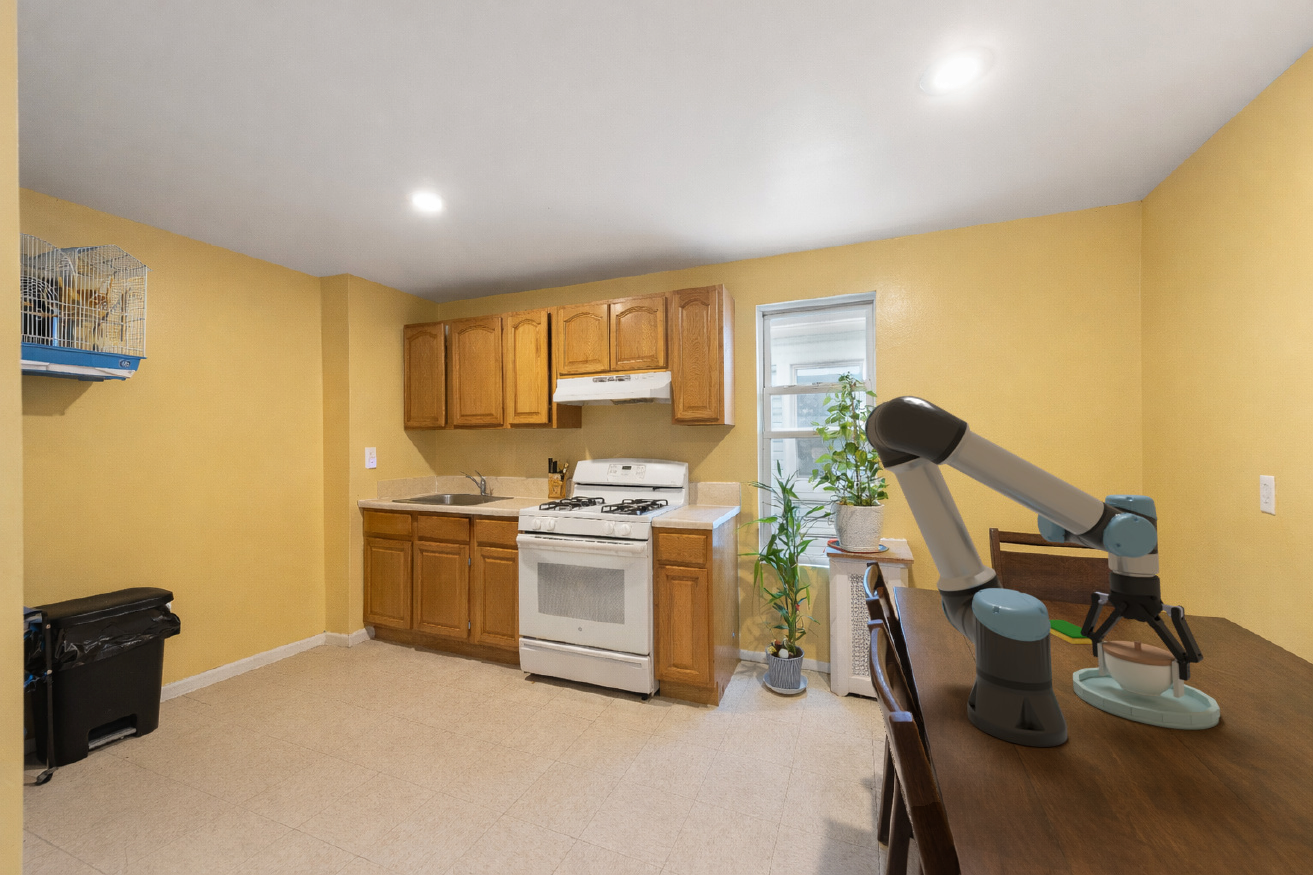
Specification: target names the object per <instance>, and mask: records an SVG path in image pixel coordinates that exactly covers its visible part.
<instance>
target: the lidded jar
mask: <svg viewBox="0 0 1313 875" xmlns="http://www.w3.org/2000/svg"><path fill="white" fill-rule="evenodd" d="M1103 650H1104V659H1105V664H1106V667H1107V670H1108V672H1109V674H1110V675H1111V676H1112V678H1113V679H1114V680H1115V681H1116V682H1117V683H1118V684H1120V687H1121V688H1123V689H1124V690H1127V691H1129V692H1132V693H1135V694H1139V695H1144V696H1160V695H1161V693H1163V692H1165V691H1167V690H1168V689H1169V688H1170V687H1171V686H1172V684H1173V677H1172V661H1174V660H1176V658H1175V657H1174V656H1173V654H1172V653H1171V652H1170V650H1169V651H1168V650H1166V649H1164V648H1161V647H1158V646H1154V645H1150V644H1147V643H1142V642H1141V641H1139V640H1134V641H1128V640H1110V641H1109V640H1108V641H1106V642H1105V643H1104V644H1103Z"/></svg>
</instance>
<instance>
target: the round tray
mask: <svg viewBox="0 0 1313 875" xmlns="http://www.w3.org/2000/svg"><path fill="white" fill-rule="evenodd" d="M1072 687H1073V692H1074V693H1075V694H1076V695H1077V697H1078V698H1080V699H1081V700H1083V701H1084V702H1085V703H1087V704H1089V705H1091V706H1093V707H1094V708H1097V709H1099V710H1101V711H1104V712H1106V713H1109V714H1110V715H1114V716H1117V717H1119V718H1123V719H1127V720H1130V721H1134V722H1138V723H1142V724H1146V725H1150V726H1151V725H1152V726H1155V727H1162V728H1167V729H1177V730H1190V731H1191V730H1205V729H1210V728H1214V727H1216V726H1217V725H1218V724H1219V723H1220V717H1221V709H1220V706H1219V704H1218V703H1217V701H1216V699H1215V698H1213V697H1211V696H1210V695H1208V694H1206V693H1205V692H1203V691H1202V690H1200V689H1197V688H1195V687H1193V686H1190V685H1187V684H1185V683H1184V693H1185V695H1183V696H1182V697H1180V698H1177V697H1174V694H1173V684H1172V686H1171V687H1170V688H1169V689H1168V690H1167V691H1165V692H1163V693H1161V695H1160V696H1144V695H1139V694H1135V693H1132V692H1129V691H1127V690H1124V689H1123V688H1121V687H1120V684H1118V683H1117V682H1116V681H1115V680H1114V679H1113V678H1112V676H1111V675H1110V674H1107V675H1105V676H1101V675H1099V667H1089V668H1081V669H1079V670H1076V671H1074V672H1073V673H1072Z"/></svg>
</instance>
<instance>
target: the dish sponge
mask: <svg viewBox="0 0 1313 875" xmlns="http://www.w3.org/2000/svg"><path fill="white" fill-rule="evenodd" d="M1049 621H1050V624H1051V629H1050V635H1054V636H1056V637H1057V638H1060V639H1061V640H1064V641H1066V642H1068V643H1070V644H1072V645H1092V641H1091V639H1089V638H1088V637H1086V636H1082V635H1081V633H1080V632H1081V629H1082V627H1080V626H1077V625H1076V624H1073V623H1072V622H1068V621H1066V620H1064V619H1049Z"/></svg>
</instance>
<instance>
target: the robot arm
mask: <svg viewBox="0 0 1313 875" xmlns="http://www.w3.org/2000/svg"><path fill="white" fill-rule="evenodd" d="M864 424H865V425H864V435H865V438H866V440H867V442H868V444H869V446H871V448H872V449H874V450H875V451H876V453H877V456H878V458H879V460H880V462H881V465H882V466H883V469H884V470H886V471H889V472H891V473H893V474H894V476H895V478H896V480H897V482H898V484H899V486H900V489H901V491H902V493H903V496H904V498H905V500H906V502H907V504H908V507H909V509H910V512H911V514H912V516H913V518H914V520H915V523H916V524H917V526H918V529H919V532H920V534H921V536H922V538H923V540H924V543H925V545H926V547H927V550H928V552H929V553H930V556H931V558H932V561H933V562H934V565H935V566H936V570H937V571H938V573H939V578H938V580H937V582H936V587H937V589H938V590H937V591H938V592H939V595H940V597H941V609H942V612H943V613H944V615H945V617H946V619H947V620H948V622H949V624H951V626H952V627H953V628H955V629H956V630H957V631H958V632H959V633H960V634H962V635H963V636H964V637H965V638H967V639H968V640H969V642H971V643H972V644H973V645H974V652H975V654H974V655H975V670H976V671H975V672H976V673H975V675H976V676H975V679H974V682H973V685H972V688H971V691H970V693H969V696H968V700H967V703H966V704H967V705H966V707H967V708H966V709H967V710H966V711H967V718H968V720H969V721H970V723H971V724H972V725H974V726H975V727H976V728H977V729H979V730H980V731H981V732H984V733H986V734H988V735H990V736H993V737H994V738H998V739H999V740H1003V741H1006V742H1009V743H1014V744H1016V745H1023V746H1030V747H1038V748H1039V747H1040V748H1046V747H1047V748H1049V747H1050V748H1051V747H1057V746H1060V745H1062V744H1064V743H1066V741H1067V740H1068V725H1067V721H1066V718H1065V717H1064V714H1063V712H1062V710H1061V706H1060V704H1059V701H1058V699H1057V697H1056V694H1055V691H1054V689H1053V672H1052V669H1053V668H1052V649H1051V648H1052V647H1051V644H1052V643H1051V633H1050V629H1051V624H1050V621H1049V620H1050V617H1049V612H1048V608H1047V606H1046V605H1045V604H1044V603H1043V601H1042V600H1039V599H1038V598H1037V597H1035V596H1033V595H1031V594H1028V593H1024V592H1020V591H1018V590H1015V589H1008V588H1004V587H1003V585H1002V583H1001V581H1000V579H999V576H998V574H997V573H996V570H995V569H994V568H992V567H989V566H987V565H985V564H983V561H982V559H981V557H980V555H979V552H978V550H977V548H976V546H975V544H974V541H973V539H972V537H971V534H970V532H969V530H968V528H967V526H966V523H965V521H964V520H963V516H962V515H961V513H960V511H959V509H958V506H957V504H956V502H955V500H954V498H953V496H952V494H951V491H950V489H949V487H948V485H947V482H946V480H945V478H944V476H943V474H942V471H941V469H940V467H939V466H942V465H948V466H949V467H951V468H953V469H955V470H956V471H958V472H959V473H962V474H963V475H966V476H968V477H969V478H971V479H973V480H975V481H977V482H978V483H980V484H982V485H983V486H986V487H988V488H989V489H991V490H993V491H995V492H997V493H999V494H1000V495H1002V496H1004V497H1007V498H1008V499H1010V500H1012V501H1013V502H1015V503H1017V504H1019V505H1021V506H1022V507H1025V508H1026V509H1027V510H1030V511H1032V512H1034V513H1035V514H1037V518H1036V519H1037V528H1038V531H1039V534H1040V536H1041V537H1042V538H1043V539H1044V540H1046V542H1049V543H1051V542H1052V543H1061V544H1064V543H1072V544H1077V545H1080V546H1084V547H1087V548H1093V549H1096V550H1098V551H1102V552H1106V553H1108V554H1107V557H1108V569H1110V570H1111V571H1109V572H1108V574H1109V575H1108V577H1109V578H1108V579H1109V580H1108V581H1109V589H1110V591H1109V593H1103V592H1102V591H1100V590H1099V591H1095V592H1092V593H1091V595H1090V600H1091V604H1090V607H1089V609H1088V612H1087V614H1086V617H1085V620H1084V622H1083V625H1082V627H1081V628H1082V629H1081V632H1080V633H1081V635H1082V636H1086V637H1088V638H1089V639H1091V641H1092V644H1091V646H1092V649H1091V650H1092V655H1093V657H1094V658H1097V659H1098V660H1097V662H1098V664H1097V666H1098V668H1099V675H1101V676H1105V675H1107V674H1109V672H1108V670H1107V667H1106V664H1105V659H1104V650H1103V644H1104V643H1105V642H1107V641H1105V640H1104V639H1105V637H1106V636H1107V635H1108V634H1109V633H1110V632H1111V631H1112V629H1113V628H1114V627H1115V626H1116V625H1117V624H1118V622H1119V621H1120V620H1121V619H1123V618H1124V619H1125V620H1133V621H1134V620H1135V621H1138V622H1140V623H1147V624H1148V626H1149V627H1150V628H1151V629H1153V630H1154V632H1155V633H1156V635H1158V637H1159V639H1160V640H1161V641H1162V643H1163V644H1164V645H1165V646H1166V648H1167V649H1168V650H1169V652H1171V653H1172V654H1173V656H1174V657H1175V658H1176V660H1174V661H1172V677H1173V694H1174V697H1177V698H1180V697H1182V696H1183V695H1185V693H1184V684H1185V681H1186V682H1187V681H1189V680H1190V679H1191V665H1190V664H1191V663H1192V664H1198V663H1200V662H1201V661H1204V655H1203V654H1202V650H1201V649H1200V647H1199V646H1198V643H1197V641H1196V639H1195V637H1194V635H1193V632H1192V631H1191V628H1190V626H1189V624H1188V623H1187V620H1186V616H1185V612H1186V611H1185V607H1184V606H1182V605H1169V604H1165V603H1164V602H1163V600H1162V596H1161V594H1162V592H1161V578H1160V577H1159V575H1157V574H1159V573H1160V560H1159V558H1160V557H1159V544H1158V542H1159V541H1158V516H1157V515H1158V514H1157V508H1156V504H1155V500H1154V499H1153V498H1152V497H1150V496H1148V495H1142V494H1141V495H1140V494H1108V495H1106V496H1105V497H1104V501H1102V500H1100V499H1098V498H1097V497H1095V496H1093V495H1091V494H1090V493H1087V492H1085V491H1083V490H1082V489H1080V488H1078V487H1077V486H1074V485H1072V484H1070V483H1068V482H1067V481H1065V480H1063V479H1062V478H1059V477H1058V476H1056V475H1054V474H1053V473H1050V472H1048V471H1046V470H1045V469H1042V468H1041V467H1039V466H1037V465H1035V464H1033V463H1031V462H1030V461H1028V460H1026V459H1024V458H1022V457H1020V456H1018V455H1017V454H1015V453H1013V452H1012V451H1009V450H1008V449H1005V448H1004V447H1002V446H1000V445H998V444H996V443H994V442H992V441H991V440H989V439H986V438H985V437H983V436H982V435H980V434H978V433H975V432H974V431H972V430H971V429H970V425H969V423H968V422H967V421H965V420H964V419H962V418H960V417H957V416H956V415H954V414H952V413H951V412H948V411H947V410H945V409H944V408H942V407H940V406H938V405H936V404H935V403H932V402H930V401H929V400H927V399H924V398H922V397H919V396H914V395H902V396H897V397H894V398H892V399H890V400H887V401H883V402H882V403H880V404H878V405H877V406H876V407H875V408H873V409H872V410H871V412H869V414H868V416H867V418H866V420H865V422H864ZM1107 602H1109V603H1110V604H1111V605H1112V607H1113V608H1114V609H1113V611H1112V612H1111V613H1110V614H1109V616H1108V617H1107V618H1106V619H1105V620H1104V621H1103V623H1102V624H1101V625H1100V626H1099V628H1098V629H1096V631H1094V630H1095V627H1096V625H1097V622H1098V620H1099V617H1100V615H1101V613H1102V610H1103V608H1104V607H1103V606H1104V605H1105V604H1106V603H1107ZM1163 611H1164V612H1166V615H1167V616H1168V617H1169V618H1170V619H1171V622H1172V625H1173V627H1174V628H1175V631H1176V633H1177V635H1178V637H1179V640H1180V642H1181V643H1180V642H1179V641H1178V640H1177V638H1176V637H1175V636H1174V634H1173V633H1172V632H1171V630H1170V629H1169V628H1168V627H1167V625H1166V624H1165V621H1164V619H1163V618H1162V617H1161V616H1160V614H1161V612H1163Z"/></svg>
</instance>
